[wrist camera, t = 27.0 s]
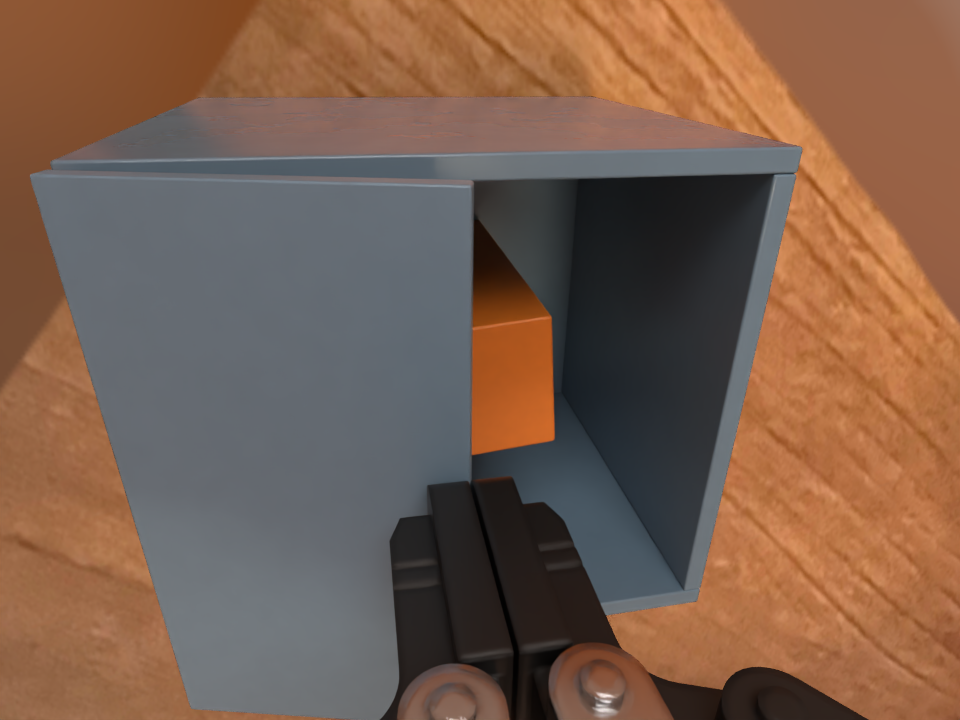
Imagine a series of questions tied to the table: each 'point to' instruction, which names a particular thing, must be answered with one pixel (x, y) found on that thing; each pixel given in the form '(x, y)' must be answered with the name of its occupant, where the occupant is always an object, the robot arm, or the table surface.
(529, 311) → the block
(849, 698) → the table surface
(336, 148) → the blue box
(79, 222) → the gray box lid
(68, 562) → the table surface
